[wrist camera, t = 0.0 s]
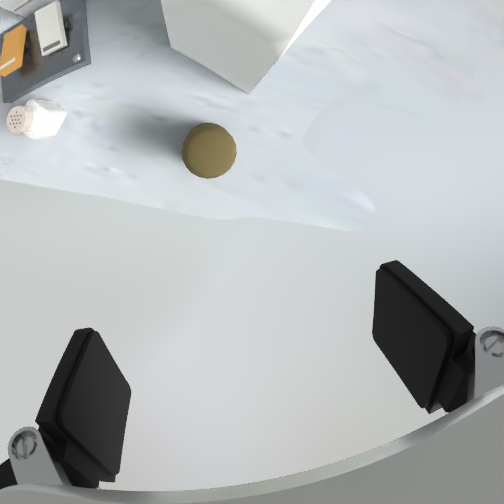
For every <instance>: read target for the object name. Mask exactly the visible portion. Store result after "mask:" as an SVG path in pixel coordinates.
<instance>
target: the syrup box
mask: <svg viewBox="0 0 504 504" xmlns="http://www.w3.org/2000/svg"><path fill="white" fill-rule="evenodd" d="M54 1H59V0H0V7H1V8H3V9H6V10H8V11H11V12H13V13H15V14H18V15H20V16H22V17H24V18H27V17H29V16H31V15H32V14H34V13H35V12H36V11H37V10H39V9H41V8H43V7H45V6H47V5H49V4H50V3H52V2H54Z"/></svg>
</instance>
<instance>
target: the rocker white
mask: <svg viewBox="0 0 504 504" xmlns="http://www.w3.org/2000/svg"><path fill="white" fill-rule="evenodd" d="M35 19H36V25H37V31H38V37H39V42H40V47H41V52H42V56H46V55H49V54H51V53H53V52H55V51H57V50H59V49H61V48H63V47H65V46H67V41H66V36H65V30H64V25H63V19H62V13H61V6H60V2H58V1H54V2H52V3H50V4H49V5H47V6H45V7H43V8H41V9H39V10H37V11H36V12H35Z"/></svg>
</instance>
